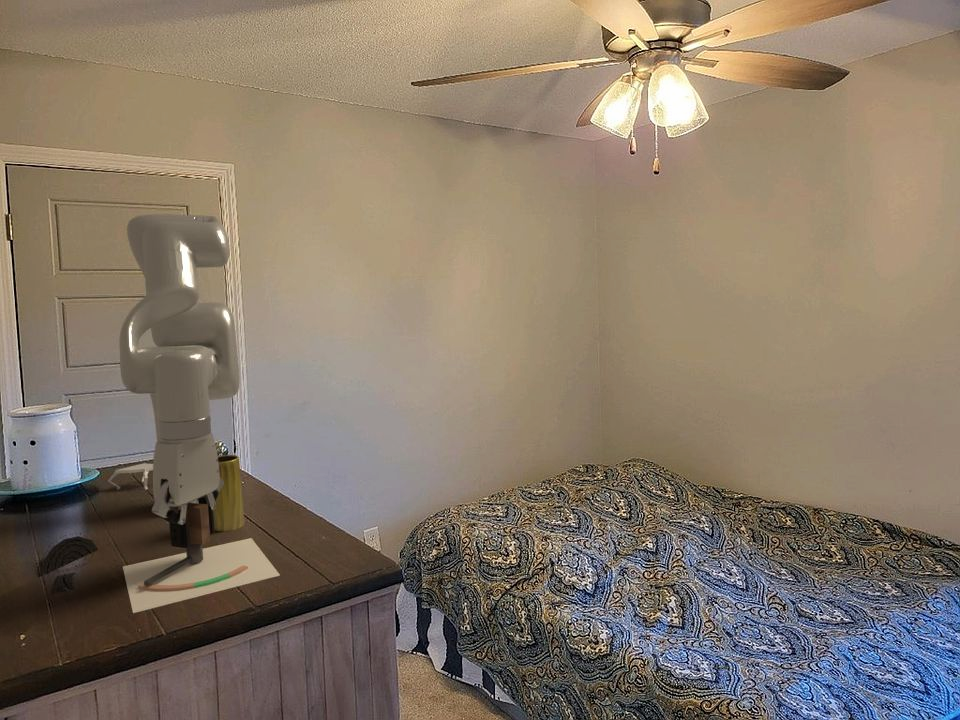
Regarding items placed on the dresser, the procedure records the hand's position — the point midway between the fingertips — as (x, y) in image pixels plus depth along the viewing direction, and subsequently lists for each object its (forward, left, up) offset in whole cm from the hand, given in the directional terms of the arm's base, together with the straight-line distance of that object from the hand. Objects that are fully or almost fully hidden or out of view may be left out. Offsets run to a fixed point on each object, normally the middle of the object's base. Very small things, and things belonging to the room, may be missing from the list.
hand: (193, 538), depth 105 cm
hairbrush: (-8, -17, -6) cm, 20 cm away
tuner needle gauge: (+3, -3, -4) cm, 6 cm away
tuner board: (+4, 0, -5) cm, 7 cm away
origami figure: (-57, -3, -6) cm, 57 cm away
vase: (-14, +8, -6) cm, 17 cm away
